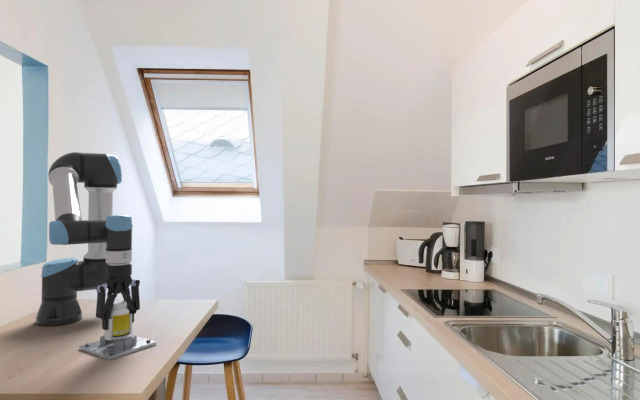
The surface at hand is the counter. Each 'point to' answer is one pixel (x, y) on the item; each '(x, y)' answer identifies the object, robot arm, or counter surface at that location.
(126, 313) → the pill bottle
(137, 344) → the collar
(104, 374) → the counter surface
